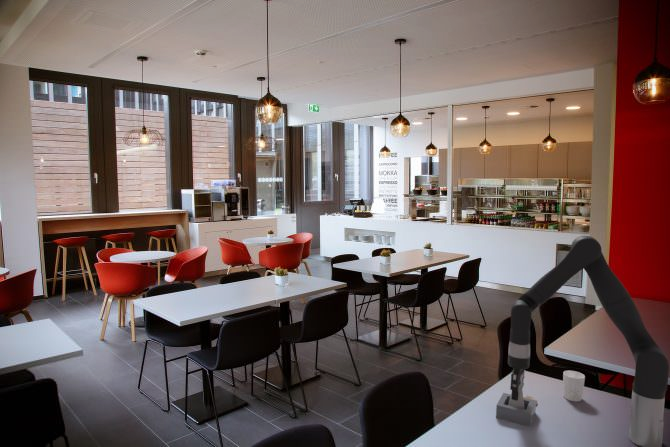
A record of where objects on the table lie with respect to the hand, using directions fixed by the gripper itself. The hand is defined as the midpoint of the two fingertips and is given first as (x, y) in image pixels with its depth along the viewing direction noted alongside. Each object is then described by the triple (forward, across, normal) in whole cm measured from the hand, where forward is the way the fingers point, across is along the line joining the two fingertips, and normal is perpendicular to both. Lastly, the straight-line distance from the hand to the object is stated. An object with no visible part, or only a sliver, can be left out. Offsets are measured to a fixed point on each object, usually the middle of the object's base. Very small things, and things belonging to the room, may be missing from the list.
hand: (516, 395), depth 178 cm
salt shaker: (+7, 0, 0) cm, 7 cm away
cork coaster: (+8, +14, -1) cm, 16 cm away
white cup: (+8, +28, -17) cm, 34 cm away
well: (+8, 0, 0) cm, 8 cm away
